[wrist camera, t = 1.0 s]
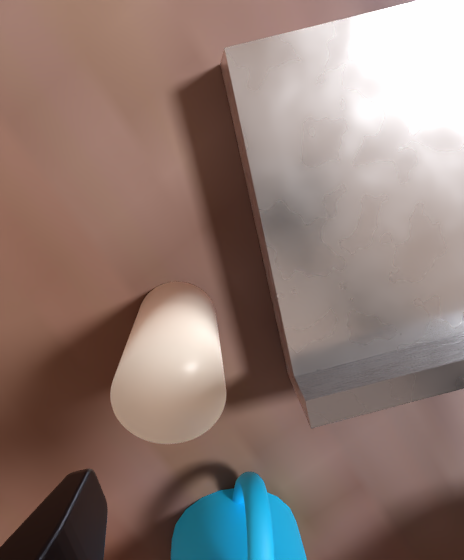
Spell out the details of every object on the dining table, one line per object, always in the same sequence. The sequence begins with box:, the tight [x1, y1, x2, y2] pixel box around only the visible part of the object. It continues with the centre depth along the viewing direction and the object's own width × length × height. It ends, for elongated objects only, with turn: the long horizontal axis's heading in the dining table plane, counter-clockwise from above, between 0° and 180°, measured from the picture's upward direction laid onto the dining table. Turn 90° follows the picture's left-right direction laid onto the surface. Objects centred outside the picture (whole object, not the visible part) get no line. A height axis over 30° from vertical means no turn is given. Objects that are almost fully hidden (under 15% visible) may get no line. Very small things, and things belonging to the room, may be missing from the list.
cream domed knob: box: [110, 282, 226, 444], centre depth 17 cm, size 4×4×7 cm
